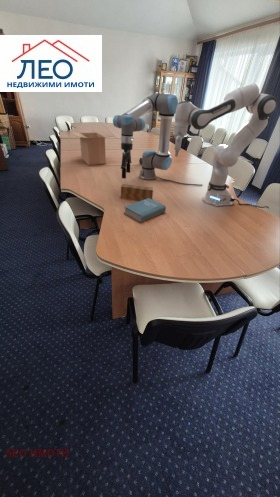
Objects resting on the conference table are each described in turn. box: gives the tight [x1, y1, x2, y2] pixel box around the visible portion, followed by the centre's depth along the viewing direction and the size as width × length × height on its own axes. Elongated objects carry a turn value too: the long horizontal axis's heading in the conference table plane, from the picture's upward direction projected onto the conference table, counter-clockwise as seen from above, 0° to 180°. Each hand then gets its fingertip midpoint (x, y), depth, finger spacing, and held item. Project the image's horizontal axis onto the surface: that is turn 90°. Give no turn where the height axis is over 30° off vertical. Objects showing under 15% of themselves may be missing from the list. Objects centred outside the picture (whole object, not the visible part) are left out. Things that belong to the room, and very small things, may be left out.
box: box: [70, 129, 114, 166], centre depth 229 cm, size 44×36×27 cm
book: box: [123, 198, 167, 223], centre depth 146 cm, size 23×16×5 cm
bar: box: [120, 183, 154, 202], centre depth 163 cm, size 23×5×9 cm, turn 81°
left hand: (126, 175), depth 157 cm, fingers open, 13 cm apart
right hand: (176, 154), depth 147 cm, fingers open, 8 cm apart
